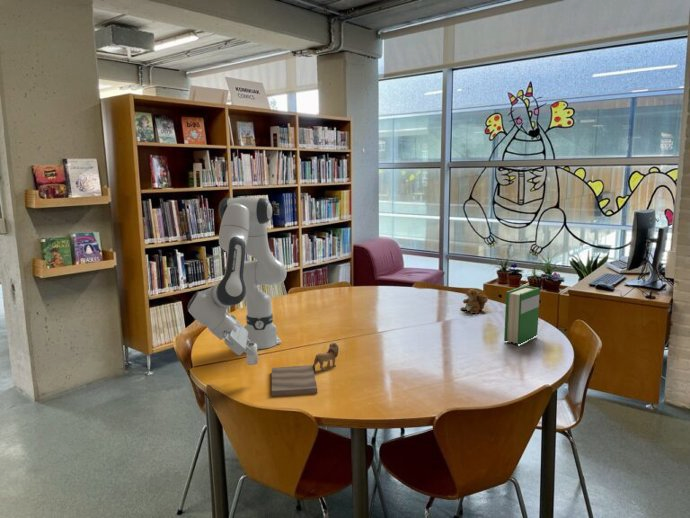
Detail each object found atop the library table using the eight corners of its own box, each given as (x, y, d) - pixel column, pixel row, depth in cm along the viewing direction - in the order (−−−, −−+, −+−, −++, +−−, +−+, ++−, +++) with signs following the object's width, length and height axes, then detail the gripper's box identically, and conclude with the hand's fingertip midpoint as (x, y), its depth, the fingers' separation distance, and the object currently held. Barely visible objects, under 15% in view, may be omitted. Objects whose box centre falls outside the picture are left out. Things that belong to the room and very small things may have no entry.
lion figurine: (332, 361, 210) (331, 340, 208) (342, 363, 206) (341, 342, 205) (308, 371, 198) (308, 350, 197) (318, 375, 195) (318, 352, 194)
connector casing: (247, 361, 189) (246, 340, 187) (257, 360, 189) (257, 340, 188) (246, 365, 185) (245, 344, 183) (257, 364, 185) (256, 343, 184)
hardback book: (519, 346, 225) (521, 294, 221) (504, 342, 230) (506, 291, 226) (537, 337, 237) (539, 288, 233) (522, 334, 242) (524, 285, 238)
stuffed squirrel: (458, 310, 286) (459, 287, 284) (479, 307, 291) (479, 285, 289) (469, 314, 277) (470, 291, 275) (490, 312, 282) (491, 289, 280)
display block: (271, 372, 198) (271, 367, 197) (312, 370, 200) (312, 365, 200) (272, 396, 176) (271, 391, 176) (317, 393, 179) (317, 387, 178)
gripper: (228, 330, 173) (258, 355, 176) (233, 313, 193) (260, 336, 196) (216, 343, 173) (246, 368, 176) (222, 325, 193) (248, 348, 196)
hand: (253, 351), depth 186 cm, fingers closed on connector casing, 4 cm apart
